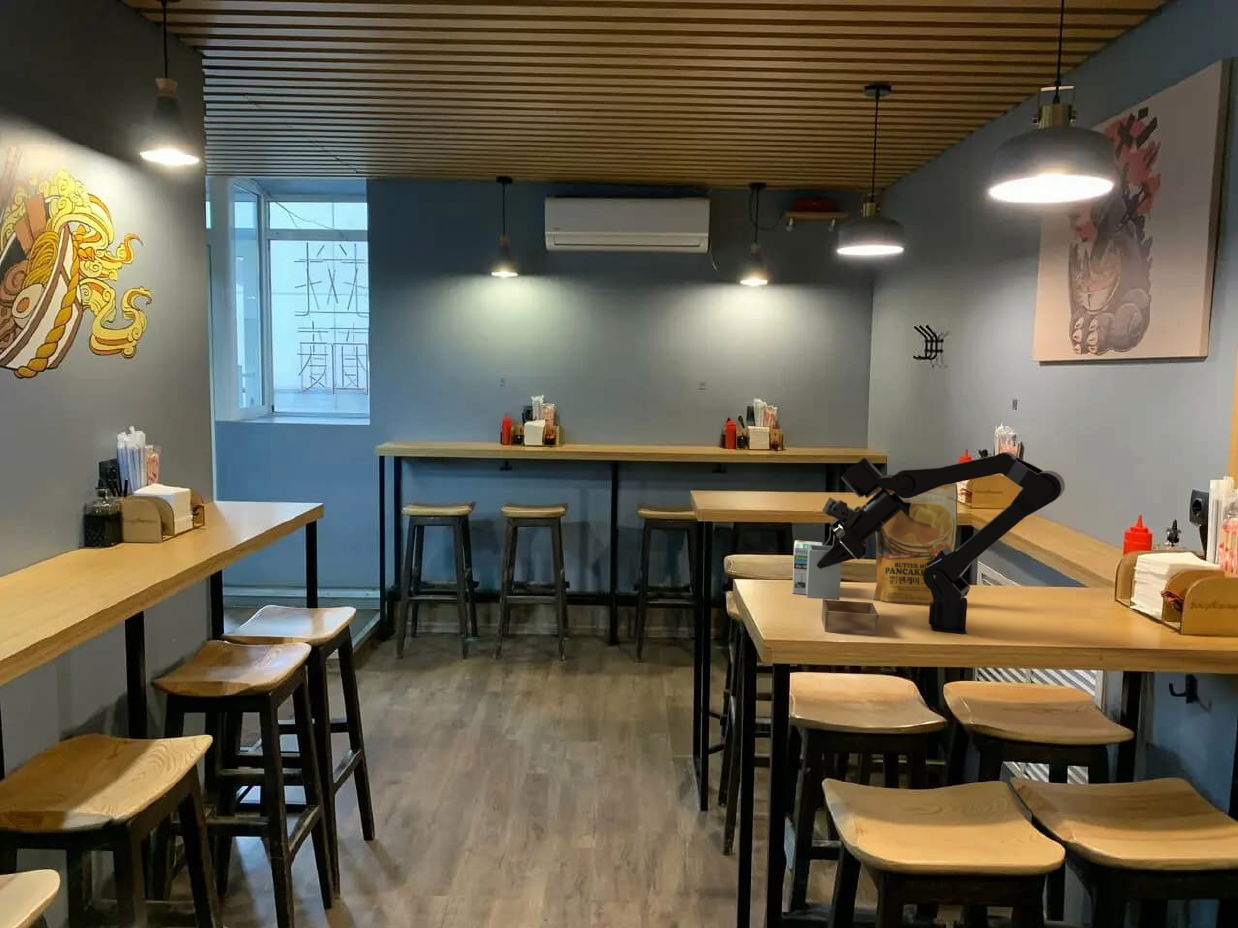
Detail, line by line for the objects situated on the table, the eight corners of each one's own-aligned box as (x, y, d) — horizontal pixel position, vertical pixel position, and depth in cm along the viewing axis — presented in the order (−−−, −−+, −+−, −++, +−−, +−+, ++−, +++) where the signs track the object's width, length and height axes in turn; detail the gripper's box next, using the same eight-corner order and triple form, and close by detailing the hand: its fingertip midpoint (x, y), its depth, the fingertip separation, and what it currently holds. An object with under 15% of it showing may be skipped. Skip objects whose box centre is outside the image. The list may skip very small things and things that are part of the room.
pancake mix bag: (863, 594, 206) (870, 473, 203) (949, 599, 204) (957, 477, 201) (868, 602, 199) (876, 477, 197) (957, 607, 197) (966, 481, 195)
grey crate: (836, 592, 191) (839, 546, 190) (839, 600, 185) (842, 552, 184) (805, 590, 192) (808, 544, 191) (807, 597, 186) (809, 550, 185)
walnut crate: (871, 621, 183) (872, 602, 182) (877, 635, 173) (878, 615, 172) (821, 618, 184) (822, 599, 184) (824, 631, 174) (825, 611, 174)
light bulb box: (821, 596, 203) (824, 549, 202) (791, 594, 205) (793, 547, 204) (820, 586, 214) (823, 541, 213) (792, 583, 215) (794, 539, 214)
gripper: (843, 480, 195) (789, 528, 197) (852, 491, 176) (792, 543, 179) (879, 518, 194) (824, 565, 197) (891, 532, 176) (830, 584, 179)
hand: (817, 563), depth 188 cm, fingers closed on grey crate, 6 cm apart
